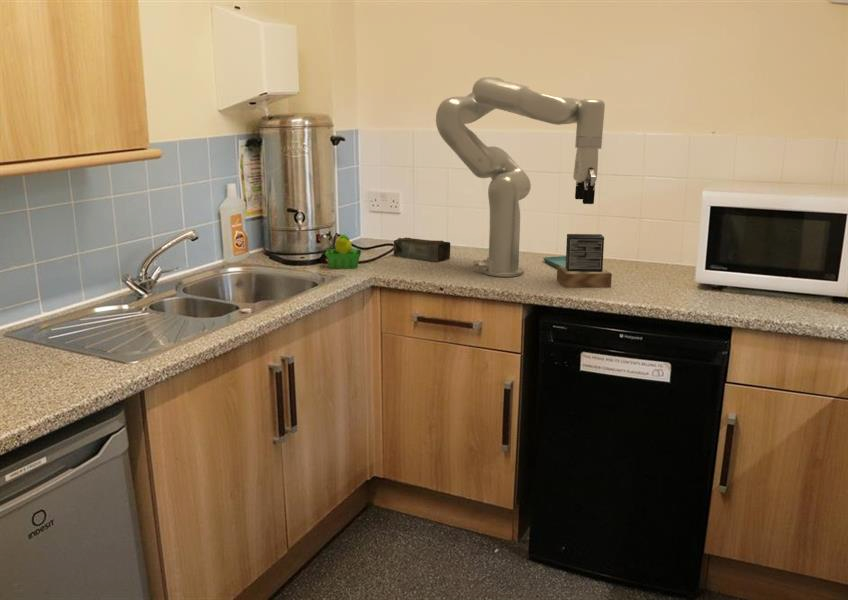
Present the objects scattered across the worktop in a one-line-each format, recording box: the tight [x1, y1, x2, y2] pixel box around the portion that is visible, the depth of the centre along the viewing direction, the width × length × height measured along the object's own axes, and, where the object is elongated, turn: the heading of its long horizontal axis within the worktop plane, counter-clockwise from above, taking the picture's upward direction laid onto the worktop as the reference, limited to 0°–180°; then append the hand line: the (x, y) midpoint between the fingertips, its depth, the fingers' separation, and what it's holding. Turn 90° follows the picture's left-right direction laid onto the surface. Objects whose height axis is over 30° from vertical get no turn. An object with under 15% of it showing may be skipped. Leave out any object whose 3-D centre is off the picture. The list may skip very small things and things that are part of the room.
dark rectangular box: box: [393, 237, 451, 263], centre depth 275 cm, size 8×19×7 cm, turn 57°
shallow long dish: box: [542, 255, 566, 269], centre depth 259 cm, size 26×9×2 cm, turn 14°
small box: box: [565, 233, 605, 272], centre depth 237 cm, size 11×6×10 cm, turn 86°
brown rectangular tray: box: [556, 266, 613, 288], centre depth 239 cm, size 14×10×4 cm
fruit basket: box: [325, 233, 362, 269], centre depth 259 cm, size 11×9×11 cm
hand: (584, 201), depth 235 cm, fingers open, 9 cm apart
